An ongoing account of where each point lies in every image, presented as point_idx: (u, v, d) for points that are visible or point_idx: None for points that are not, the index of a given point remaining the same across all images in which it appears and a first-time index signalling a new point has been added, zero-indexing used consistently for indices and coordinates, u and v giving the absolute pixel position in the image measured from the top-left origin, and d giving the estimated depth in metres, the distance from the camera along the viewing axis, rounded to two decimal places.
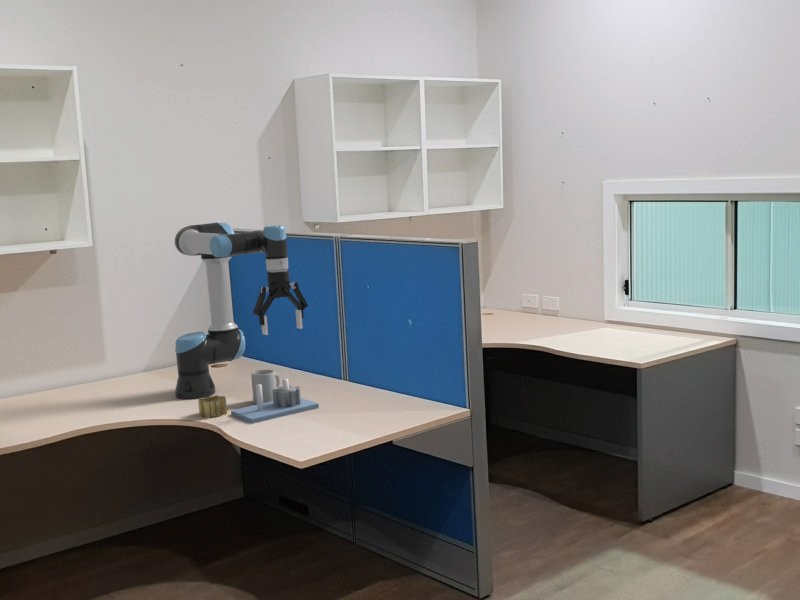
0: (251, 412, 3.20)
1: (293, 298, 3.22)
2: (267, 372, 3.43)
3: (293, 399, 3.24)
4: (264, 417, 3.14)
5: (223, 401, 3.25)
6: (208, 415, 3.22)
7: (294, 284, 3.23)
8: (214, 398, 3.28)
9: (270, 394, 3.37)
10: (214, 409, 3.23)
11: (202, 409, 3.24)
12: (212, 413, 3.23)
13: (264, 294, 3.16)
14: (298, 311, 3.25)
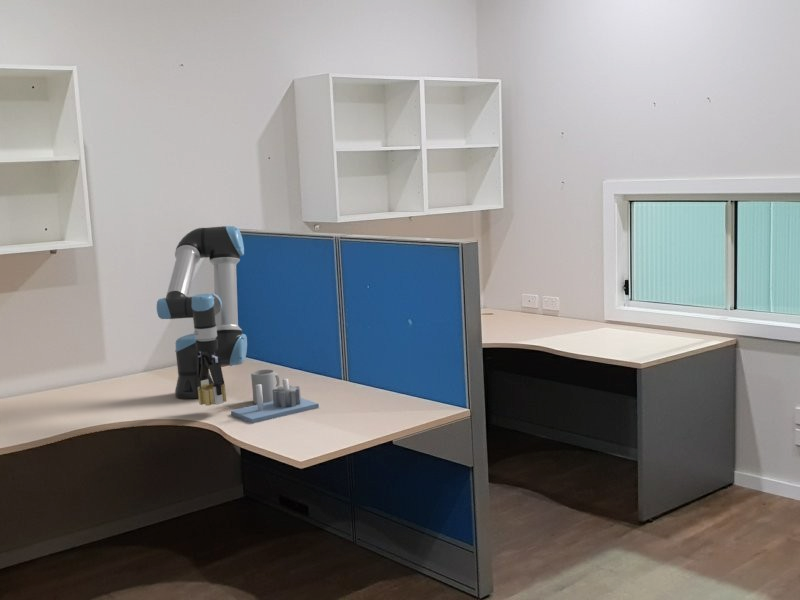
0: (251, 412, 3.20)
1: (210, 371, 3.21)
2: (267, 372, 3.43)
3: (293, 399, 3.24)
4: (264, 417, 3.14)
5: (222, 389, 3.25)
6: (207, 403, 3.22)
7: None
8: None
9: (270, 394, 3.37)
10: (213, 397, 3.23)
11: (201, 397, 3.24)
12: (211, 401, 3.23)
13: (198, 358, 3.29)
14: None
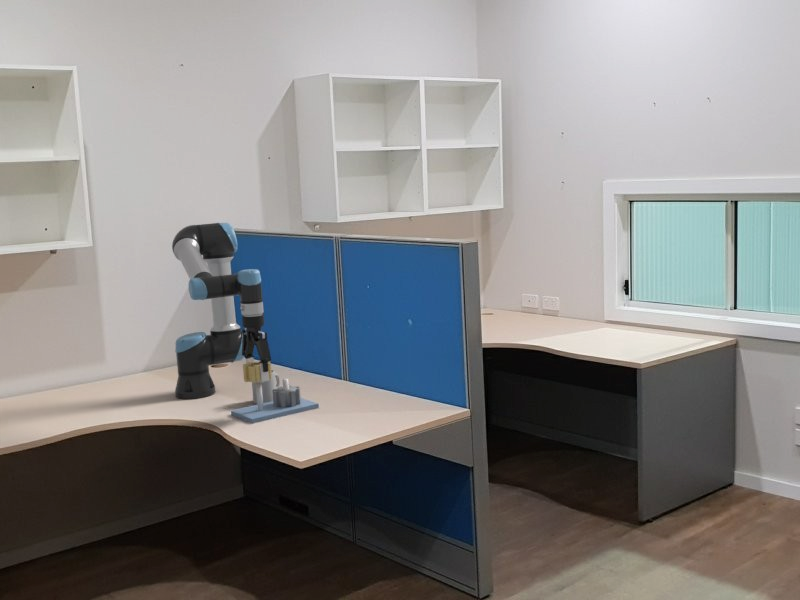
0: (251, 412, 3.20)
1: (257, 347, 3.15)
2: None
3: (293, 399, 3.24)
4: (264, 417, 3.14)
5: (268, 366, 3.19)
6: (253, 380, 3.16)
7: None
8: (259, 363, 3.22)
9: (270, 394, 3.37)
10: (259, 374, 3.17)
11: (247, 374, 3.17)
12: (257, 378, 3.17)
13: (243, 336, 3.23)
14: None
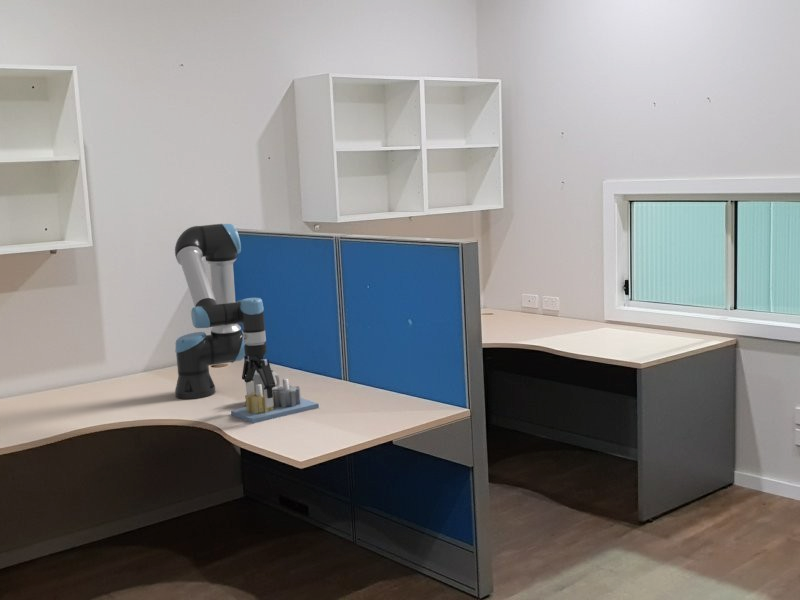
0: None
1: (260, 374, 3.16)
2: None
3: (293, 399, 3.24)
4: (264, 417, 3.14)
5: None
6: (256, 411, 3.17)
7: None
8: None
9: None
10: (262, 405, 3.18)
11: (250, 405, 3.19)
12: (260, 409, 3.18)
13: (245, 362, 3.24)
14: None
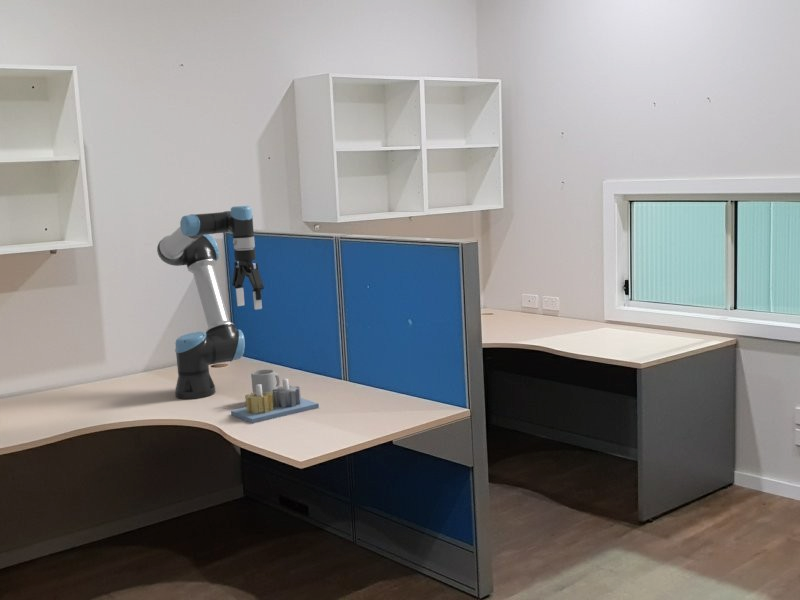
0: None
1: (249, 278, 3.32)
2: (267, 372, 3.43)
3: (293, 399, 3.24)
4: (264, 417, 3.14)
5: (271, 397, 3.20)
6: (256, 411, 3.17)
7: None
8: None
9: None
10: (262, 405, 3.18)
11: (250, 405, 3.19)
12: (260, 409, 3.18)
13: (235, 268, 3.40)
14: None
